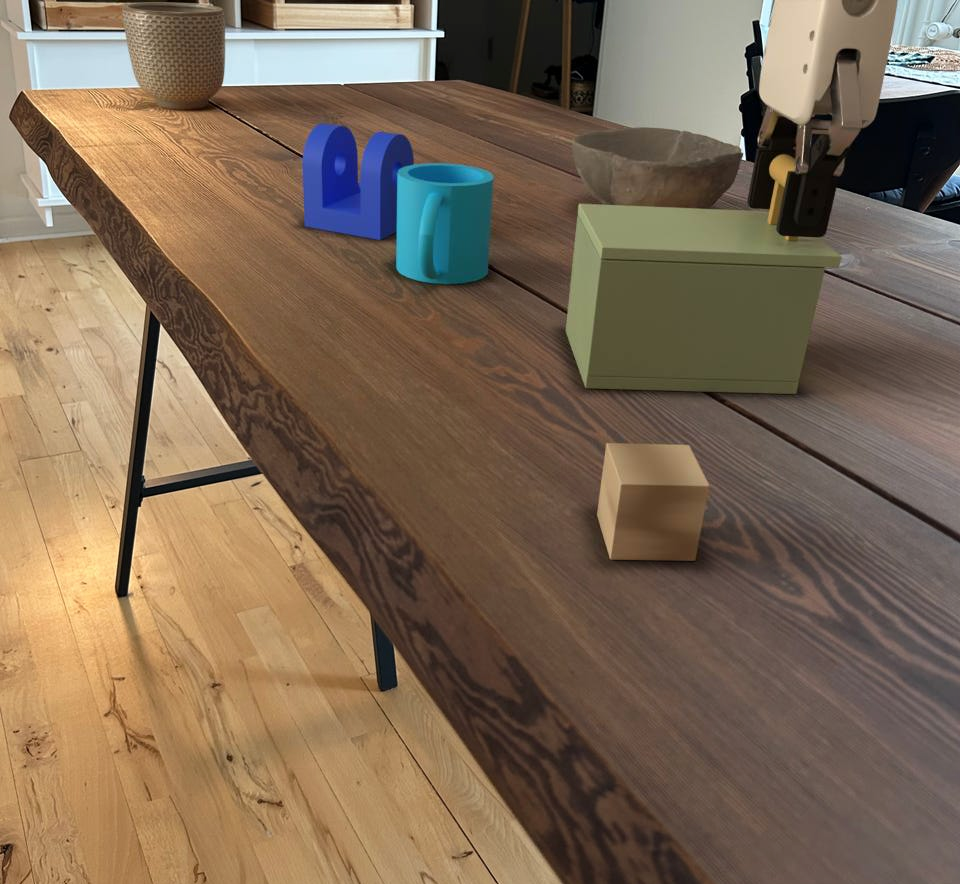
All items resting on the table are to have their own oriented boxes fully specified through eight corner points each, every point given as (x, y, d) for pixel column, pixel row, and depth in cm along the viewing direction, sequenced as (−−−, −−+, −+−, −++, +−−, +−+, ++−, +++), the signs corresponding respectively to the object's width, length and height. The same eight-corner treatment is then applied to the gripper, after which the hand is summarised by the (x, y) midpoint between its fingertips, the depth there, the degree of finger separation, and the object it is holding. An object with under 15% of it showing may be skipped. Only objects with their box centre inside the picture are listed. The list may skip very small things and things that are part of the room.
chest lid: (787, 222, 76) (803, 146, 73) (839, 268, 67) (859, 182, 64) (577, 214, 75) (585, 136, 72) (600, 259, 65) (610, 172, 63)
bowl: (599, 187, 121) (607, 115, 117) (747, 212, 115) (761, 136, 110) (539, 220, 107) (546, 139, 103) (704, 250, 101) (718, 165, 96)
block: (676, 516, 56) (689, 444, 54) (695, 561, 52) (710, 485, 50) (596, 515, 56) (606, 442, 53) (609, 560, 52) (620, 483, 50)
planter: (200, 94, 159) (193, 1, 152) (249, 109, 150) (243, 11, 144) (115, 101, 151) (103, 2, 144) (161, 117, 142) (151, 13, 135)
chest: (752, 337, 80) (775, 223, 76) (796, 394, 71) (825, 268, 67) (565, 331, 79) (577, 215, 75) (585, 388, 70) (600, 259, 65)
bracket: (380, 240, 98) (380, 140, 93) (304, 226, 100) (301, 129, 95) (458, 200, 112) (461, 112, 107) (390, 189, 114) (391, 103, 110)
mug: (407, 251, 95) (409, 159, 91) (495, 260, 94) (500, 168, 90) (374, 292, 85) (374, 191, 80) (472, 302, 84) (477, 201, 80)
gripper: (975, -76, 54) (886, 261, 63) (855, -83, 69) (797, 192, 78) (836, -85, 53) (767, 257, 63) (745, -90, 68) (700, 188, 77)
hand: (784, 218), depth 70 cm, fingers open, 6 cm apart
